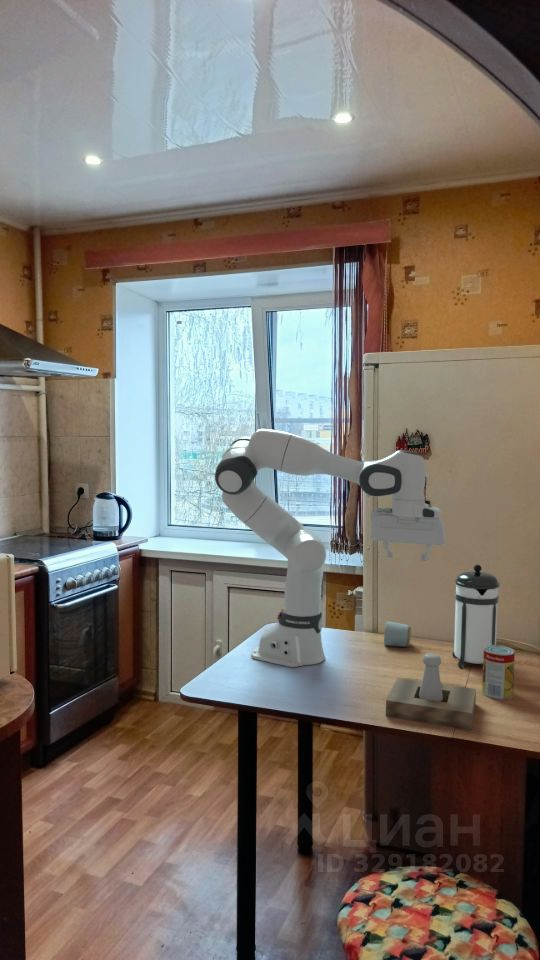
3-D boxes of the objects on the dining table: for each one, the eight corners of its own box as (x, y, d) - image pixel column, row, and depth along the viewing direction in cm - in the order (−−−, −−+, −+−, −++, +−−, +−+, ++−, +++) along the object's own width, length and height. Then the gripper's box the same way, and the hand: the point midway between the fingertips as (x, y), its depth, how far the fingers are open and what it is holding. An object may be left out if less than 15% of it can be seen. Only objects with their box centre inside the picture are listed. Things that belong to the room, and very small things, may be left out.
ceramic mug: (409, 650, 212) (410, 626, 211) (383, 648, 214) (384, 624, 214) (411, 641, 222) (411, 618, 222) (386, 638, 224) (387, 616, 224)
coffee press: (513, 664, 200) (516, 565, 198) (478, 675, 191) (482, 571, 189) (466, 648, 214) (469, 556, 212) (432, 657, 205) (435, 561, 203)
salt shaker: (443, 711, 163) (445, 659, 162) (419, 710, 164) (421, 658, 163) (441, 702, 168) (442, 651, 168) (418, 700, 169) (419, 650, 168)
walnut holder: (385, 716, 162) (386, 700, 162) (397, 692, 177) (397, 677, 177) (471, 729, 155) (471, 713, 155) (475, 704, 170) (476, 688, 170)
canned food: (514, 691, 179) (515, 647, 178) (511, 701, 172) (513, 656, 171) (483, 686, 182) (485, 643, 182) (480, 696, 175) (481, 651, 174)
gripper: (368, 508, 184) (367, 558, 185) (444, 512, 177) (443, 563, 178) (373, 506, 190) (372, 554, 191) (446, 510, 183) (445, 559, 184)
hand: (406, 558), depth 184 cm, fingers open, 8 cm apart
